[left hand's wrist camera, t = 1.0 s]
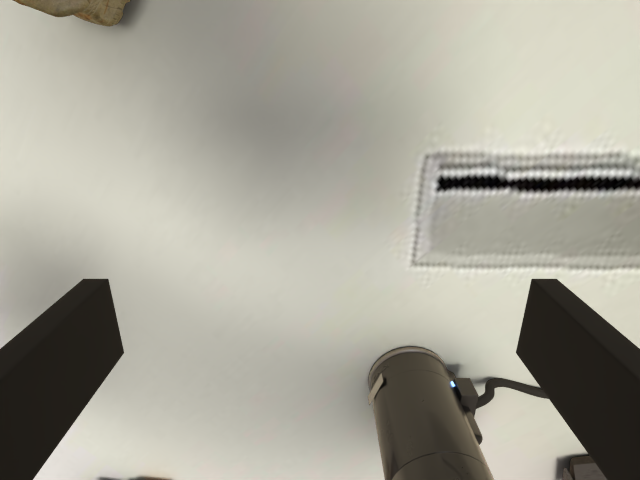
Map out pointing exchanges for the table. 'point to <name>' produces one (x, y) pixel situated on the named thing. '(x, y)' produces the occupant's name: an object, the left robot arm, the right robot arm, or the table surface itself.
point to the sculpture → (81, 9)
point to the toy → (583, 470)
